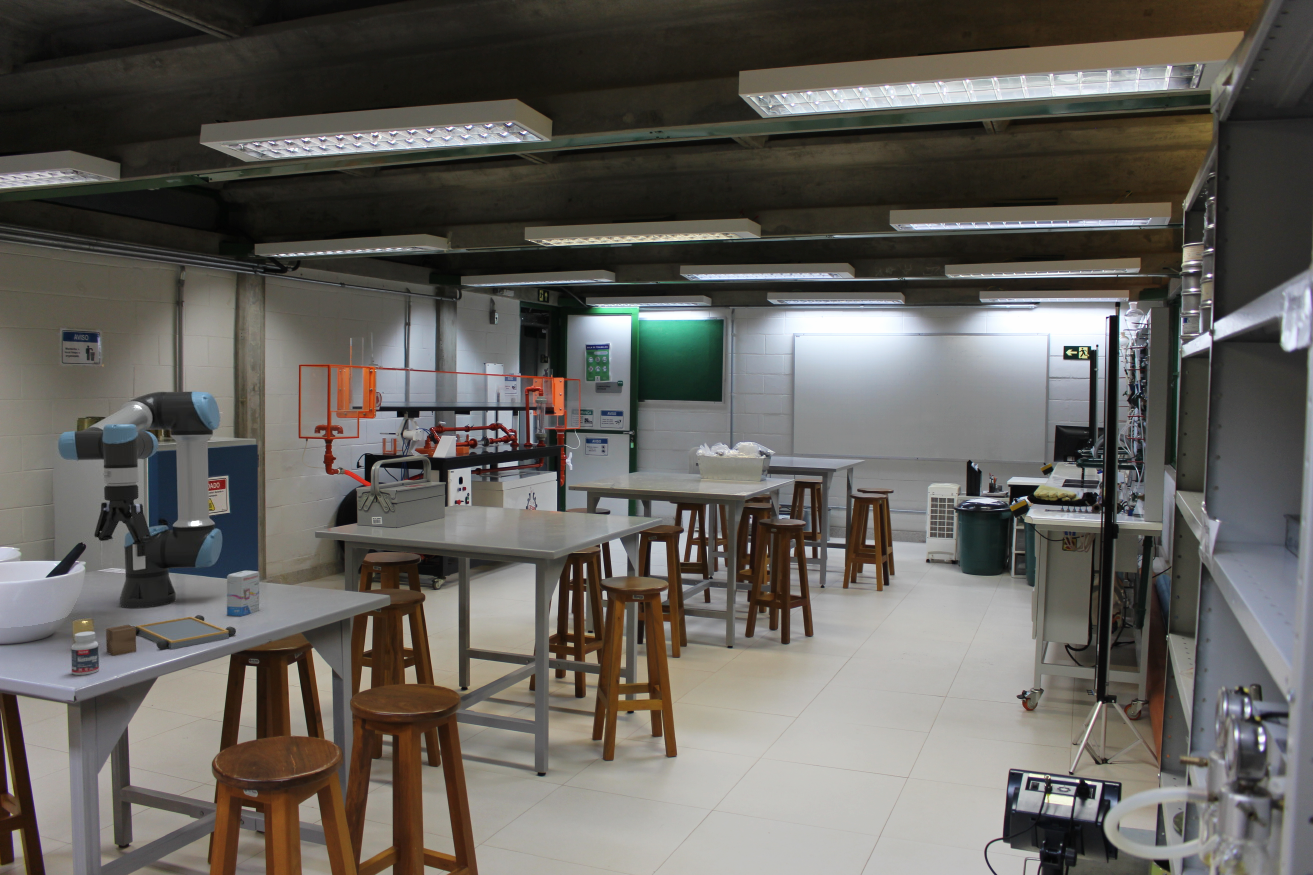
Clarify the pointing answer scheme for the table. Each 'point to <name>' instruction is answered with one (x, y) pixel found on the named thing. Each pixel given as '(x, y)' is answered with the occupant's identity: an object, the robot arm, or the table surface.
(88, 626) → the cylinder
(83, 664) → the pill bottle
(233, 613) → the ink box
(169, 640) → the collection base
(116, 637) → the walnut block
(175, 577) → the table surface
